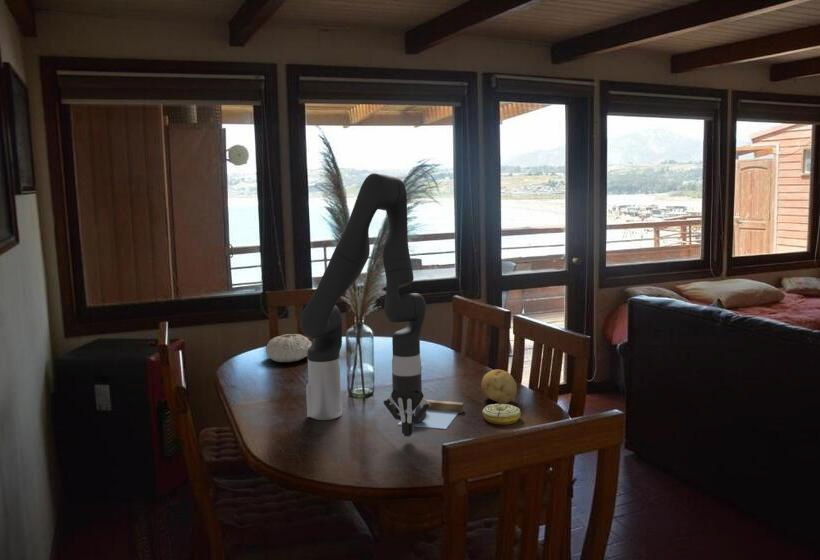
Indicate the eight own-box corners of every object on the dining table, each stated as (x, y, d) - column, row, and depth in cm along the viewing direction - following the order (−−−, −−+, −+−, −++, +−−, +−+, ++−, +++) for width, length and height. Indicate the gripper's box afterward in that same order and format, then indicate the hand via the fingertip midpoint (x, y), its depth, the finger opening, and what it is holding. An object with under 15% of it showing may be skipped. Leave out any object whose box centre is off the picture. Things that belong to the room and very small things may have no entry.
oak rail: (410, 408, 200) (409, 400, 200) (412, 406, 202) (412, 398, 202) (462, 413, 195) (461, 404, 195) (463, 410, 197) (463, 402, 197)
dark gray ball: (405, 423, 189) (408, 423, 184) (404, 404, 190) (408, 402, 185) (424, 423, 190) (428, 422, 185) (423, 404, 191) (427, 402, 186)
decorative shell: (261, 357, 265) (260, 333, 264) (305, 352, 273) (304, 328, 271) (272, 368, 249) (271, 342, 248) (318, 362, 257) (317, 336, 255)
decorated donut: (505, 411, 197) (505, 399, 196) (528, 422, 187) (528, 409, 187) (475, 417, 192) (475, 404, 191) (497, 429, 182) (497, 415, 182)
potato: (503, 393, 212) (503, 363, 211) (522, 405, 200) (522, 373, 199) (474, 397, 209) (473, 366, 208) (491, 410, 197) (491, 377, 196)
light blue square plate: (397, 424, 187) (397, 424, 187) (413, 408, 200) (413, 408, 200) (445, 429, 182) (445, 428, 182) (458, 412, 195) (458, 412, 195)
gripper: (377, 373, 170) (379, 438, 173) (426, 376, 166) (428, 443, 168) (387, 365, 177) (389, 428, 180) (435, 368, 173) (436, 432, 175)
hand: (408, 435), depth 174 cm, fingers closed
